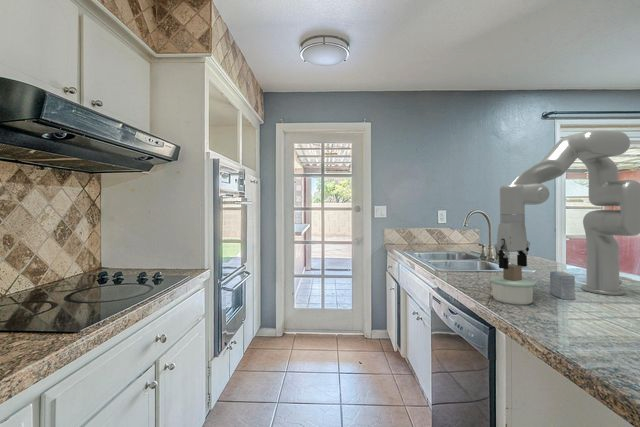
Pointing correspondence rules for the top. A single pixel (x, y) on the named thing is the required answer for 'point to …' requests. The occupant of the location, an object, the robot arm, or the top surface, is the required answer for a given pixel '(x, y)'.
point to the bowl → (513, 294)
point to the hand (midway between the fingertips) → (512, 267)
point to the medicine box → (562, 285)
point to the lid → (513, 278)
